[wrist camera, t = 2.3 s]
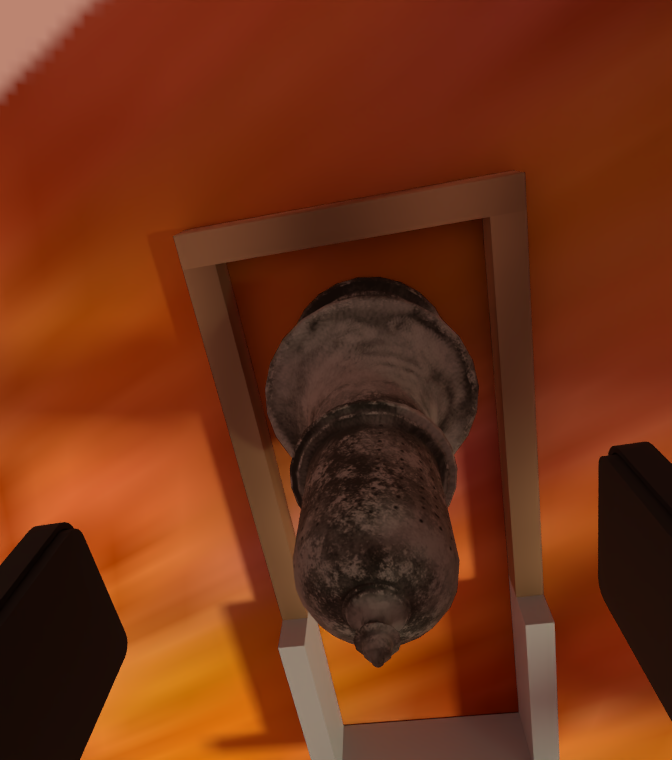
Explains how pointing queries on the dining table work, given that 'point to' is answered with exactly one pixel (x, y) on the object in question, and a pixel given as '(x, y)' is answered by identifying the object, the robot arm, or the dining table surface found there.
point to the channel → (353, 222)
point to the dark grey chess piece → (373, 459)
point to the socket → (432, 736)
